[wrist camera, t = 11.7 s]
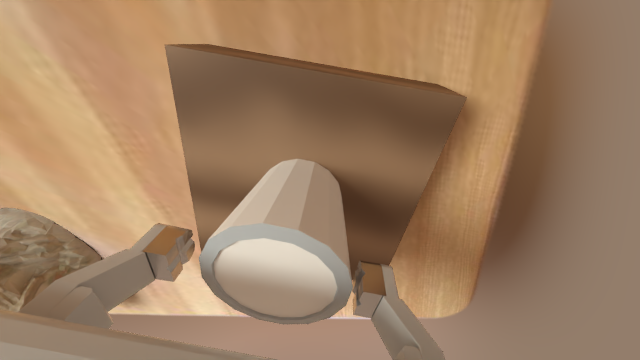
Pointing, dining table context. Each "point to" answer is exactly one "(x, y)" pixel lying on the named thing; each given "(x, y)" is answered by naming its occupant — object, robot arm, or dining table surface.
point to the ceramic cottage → (35, 256)
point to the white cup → (283, 248)
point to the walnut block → (308, 136)
